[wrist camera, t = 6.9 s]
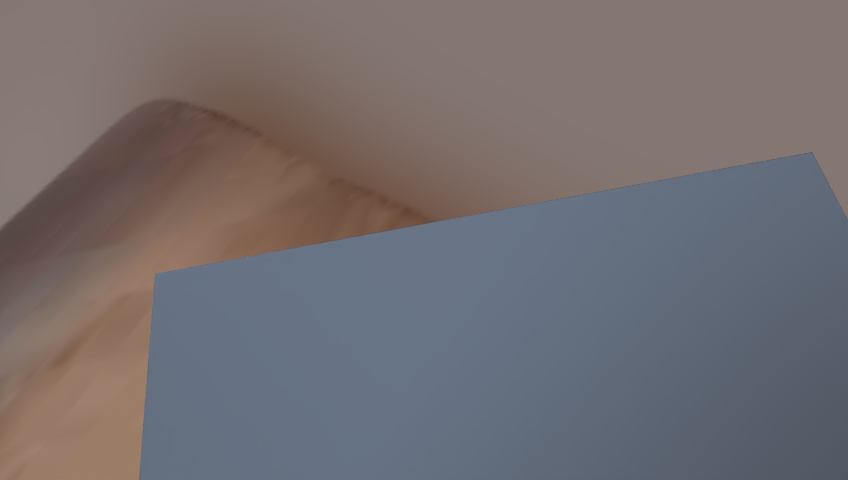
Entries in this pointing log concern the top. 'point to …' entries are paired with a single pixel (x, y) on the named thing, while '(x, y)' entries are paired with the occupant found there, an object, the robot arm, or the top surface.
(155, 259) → the top surface
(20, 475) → the top surface
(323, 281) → the blue block
